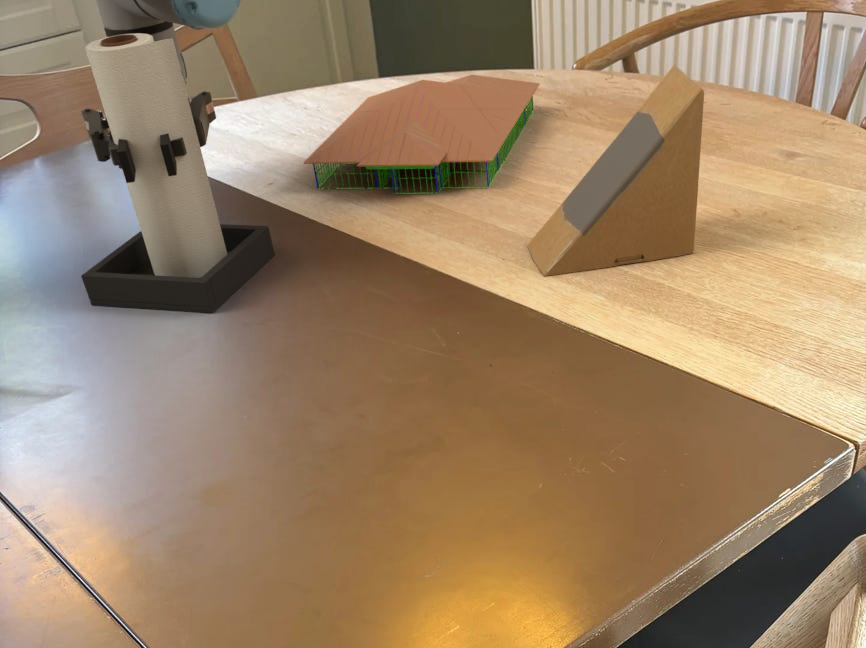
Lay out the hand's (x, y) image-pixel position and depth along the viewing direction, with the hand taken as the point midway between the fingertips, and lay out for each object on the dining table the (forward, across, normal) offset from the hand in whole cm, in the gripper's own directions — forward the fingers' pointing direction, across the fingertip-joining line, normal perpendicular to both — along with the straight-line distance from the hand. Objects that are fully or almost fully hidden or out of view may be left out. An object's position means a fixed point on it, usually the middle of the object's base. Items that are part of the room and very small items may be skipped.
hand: (147, 163), depth 93 cm
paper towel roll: (-6, 0, -13) cm, 14 cm away
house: (-34, -31, -13) cm, 48 cm away
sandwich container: (+5, -42, -13) cm, 45 cm away
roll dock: (-5, 0, -13) cm, 14 cm away
